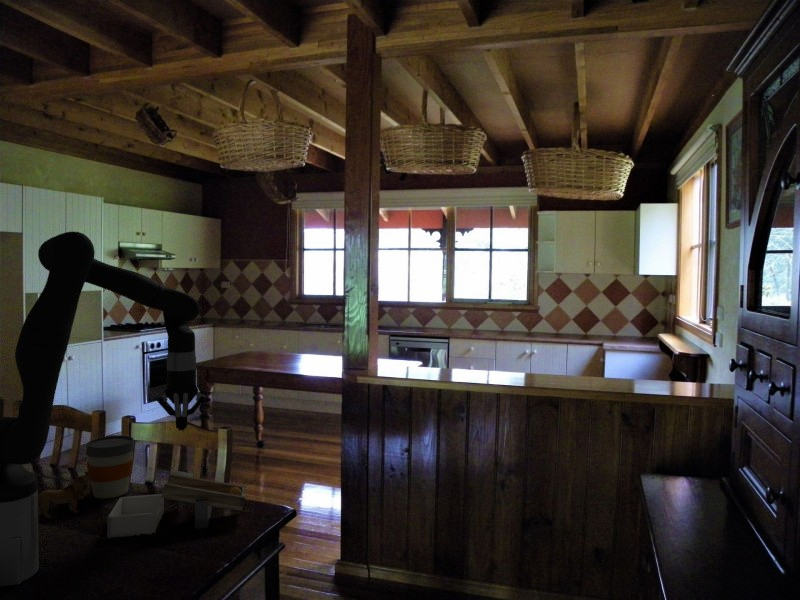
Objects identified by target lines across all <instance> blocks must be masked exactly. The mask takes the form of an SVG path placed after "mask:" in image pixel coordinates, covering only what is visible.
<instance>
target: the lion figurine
mask: <svg viewBox="0 0 800 600" xmlns="http://www.w3.org/2000/svg"><path fill="white" fill-rule="evenodd" d="M90 479H91V477H90V476H89V474H88V475H87V474H82V475H80V476H77V477H76V478H75V480H74V481H72V483H69V484H68V486H67V485H66V487H65V488H62V489H57V490H55V489H46V490H43V491H41V492H40V493H38V511H39V510H40V509H41V508H42V511H41V512H42V514H43V515H44V517H45V518H46V519H50V518H51V519H52V514H49V513H48V509H49V507H50V505H51V503H54V504H56V505H57V504H58V505H59V504H61V505H62V504H66V503H69V507H68V508H69V510H70V511H72V513H73V514H77V513H79V512H80V511H79V509H77V505H78V501H79V500H83V499H84V498H85V497H86V495H87V494H88V493H89V491H90V490H91V489H92V483H91V480H90ZM41 512H38V517H39V516H40V515H41Z"/></svg>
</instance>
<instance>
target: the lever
mask: <svg viewBox="0 0 800 600" xmlns="http://www.w3.org/2000/svg"><path fill="white" fill-rule="evenodd" d="M233 487H238V488H240V490H241V496H240V495H234V494H229V491H230V489H231V488H233ZM162 490H163V491H162V492H161V494H162V496H161V498H164V499H166V500H173V501H181V502H186V503H192V504H195V500H203V499H208V505H209V506H212V507H216V508H222V509H227V510H234V511H235V510H236V511H240V512H242V511H243V507H244V504H245V502H246V501H245V500H246V493H247V492H246V491H247V486H246V485H240V484H233V483H228V482H222V481H217V480H212V479H211V480H210V479H205V478H199V477H194V473H190V472H185V471H178V470H174V472H173V473H171V472H170V473H169V475H168V478H167V482H165V483H164V485H163V489H162Z"/></svg>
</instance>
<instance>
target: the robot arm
mask: <svg viewBox="0 0 800 600" xmlns="http://www.w3.org/2000/svg"><path fill="white" fill-rule="evenodd" d="M37 252H38V253H37V254H38V255H37V256H38V260H39V263H40V264H41V266H43V268H44V269H45V270H46V271H48V274H47V279H46V281H45V284H44V287H43V290H42V292H41V293H40V294H39V296H38V297H37V299H36V301H35V303H34V304H33V306H32V307H31V309H30V311H29V312H28V314H27V316H26V317H25V319H24V321H23V324H22V327H21V329H20V333H19V336H18V340H17V343H16V347H15V351H14V357H15V358H14V360H15V363H16V367H17V371H18V374H19V378H20V380H21V381H20V382H21V385H22V389H23V390H22V401H21V405H20V408H19V409H20V410H19V412H18V415H17V416H0V587H8V586H17V585H21V584H22V582H24V581H26V580H28V579H30V578H32V577H33V576H35V574H36V573H38V571H39V568H40V567H39V565H40V564H39V516H38V513H39V510H38V504H39V500H38V495H39V481H38V477H37V475H35V474H34V473H32V472H30V471H29V470H28V469H26V468H25V467H24V466H23V465H28V464H31V463H33V462H35V461H37V459H38V458H39V457H40V456H41V454H42V453H43V451H44V448H45V446H46V444H47V441H48V438H49V432H50V427H51V419H52V414H53V413H52V412H53V407H54V401H55V395H56V390H57V386H58V383H59V377H60V374H61V370H62V366H63V362H64V359H65V356H66V353H67V349H68V345H69V341H70V339H71V333H72V329H73V325H74V321H75V317H76V314H77V310H78V305H79V301H80V298H81V297H80V296H81V293H82V292H83V291H82V290H83V289H84V285H85V283H87V284H90V285H94V286H95V287H99V288H102V289H103V290H104V289H105V290H107V291H109V292H111V293H114V294H117V295H119V296H121V297H124V298H127V299H128V300H131V301H133V302H135V303H138V304H139V305H142V306H144V307H146V308H149V309H153V310H158V311H161V312H162V317H163V322H164V326H165V330H166V334H167V356H166V357H167V358H166V388H165V390H164V393H163V394H162V395H160V396H158V397H157V398H156V401H157V403H158V404H159V405H160V406H161V408H163V410H164V411H165V412H166V413H167V414H168V415H169V416H173V417H175V428H176V430H177V429H178V431H185V429H187V427H188V416H190V415H194V414H195V412H196V411H197V409H199V407H200V406H201V405H202V403H203V402H204V401H205V400H206V395H205V394H202V392H199V388H198V386H197V355H196V334H195V332H194V330H192V329H191V328H190V326H189V321H192V320H195V319H196V318H197V317H198V316H199V315H200V311H201V305H200V303H199V301H198V300H197V299H196V298H195V297H194V296H192V295H190V294H187V293H185V292H184V291H180V290H177V289H174V288H173V287H172V288H171V287H168V286H166V285H165V284H162V283H161V282H159V281H156V280H154V279H152V278H151V277H148V276H147V275H145V274H142V273H139V272H136V271H133V270H131V269H130V270H129V269H125V268H122V267H119V266H115V265H111V264H108V263H106V262H102V261H100V260H98V259H97V258H95V253H96V252H95V247H94V244H93V242H92V241H91V239H90V237H89V236H87V235H86V234H84V233H82V232H79V231H66V232H62V233H59V234H57V235H55V236H52V237H51V238H48V239H47V240H45V241H44V242H43V243H42V244H41V245H40V247H39V249H38V251H37ZM195 397H196V398H195ZM168 399H169V401H170V402H171V403H172V404H173V406H174V407H172V406H171V405H170V403H169V402H168ZM193 399H195V401H196V402H194V404H193V405H192V407H191V408H189V405H190V403H191V402H192V401H193Z"/></svg>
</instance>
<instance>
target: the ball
mask: <svg viewBox="0 0 800 600" xmlns="http://www.w3.org/2000/svg"><path fill="white" fill-rule="evenodd" d="M229 494H234V495H240V496H241V490H240V488H238V487H233V488H231V489H230V491H229Z"/></svg>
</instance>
